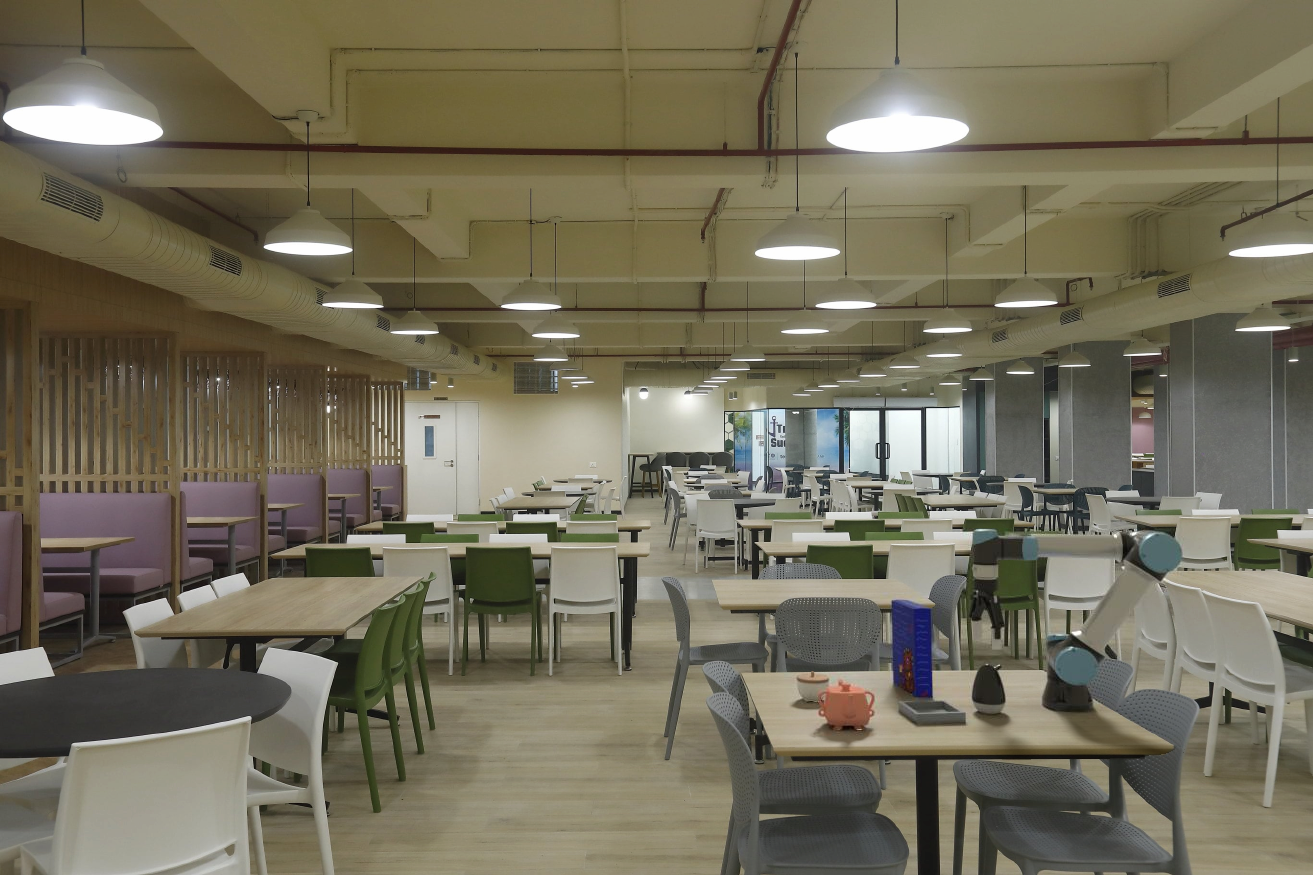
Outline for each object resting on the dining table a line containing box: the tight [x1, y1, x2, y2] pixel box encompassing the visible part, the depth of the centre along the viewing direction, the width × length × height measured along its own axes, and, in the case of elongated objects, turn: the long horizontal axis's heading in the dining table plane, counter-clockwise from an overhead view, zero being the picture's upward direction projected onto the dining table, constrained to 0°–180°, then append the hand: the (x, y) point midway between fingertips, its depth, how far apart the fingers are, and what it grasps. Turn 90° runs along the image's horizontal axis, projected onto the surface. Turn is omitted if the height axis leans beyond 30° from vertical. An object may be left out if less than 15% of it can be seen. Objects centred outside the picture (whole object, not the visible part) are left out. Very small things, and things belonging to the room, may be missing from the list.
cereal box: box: [891, 599, 934, 698], centre depth 316 cm, size 22×6×30 cm, turn 5°
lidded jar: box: [796, 671, 830, 703], centre depth 302 cm, size 11×11×9 cm
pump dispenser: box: [971, 663, 1007, 715], centre depth 284 cm, size 10×10×15 cm
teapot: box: [817, 678, 876, 730], centre depth 271 cm, size 15×17×13 cm
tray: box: [897, 699, 967, 725], centre depth 280 cm, size 15×15×3 cm
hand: (986, 645), depth 285 cm, fingers open, 13 cm apart
